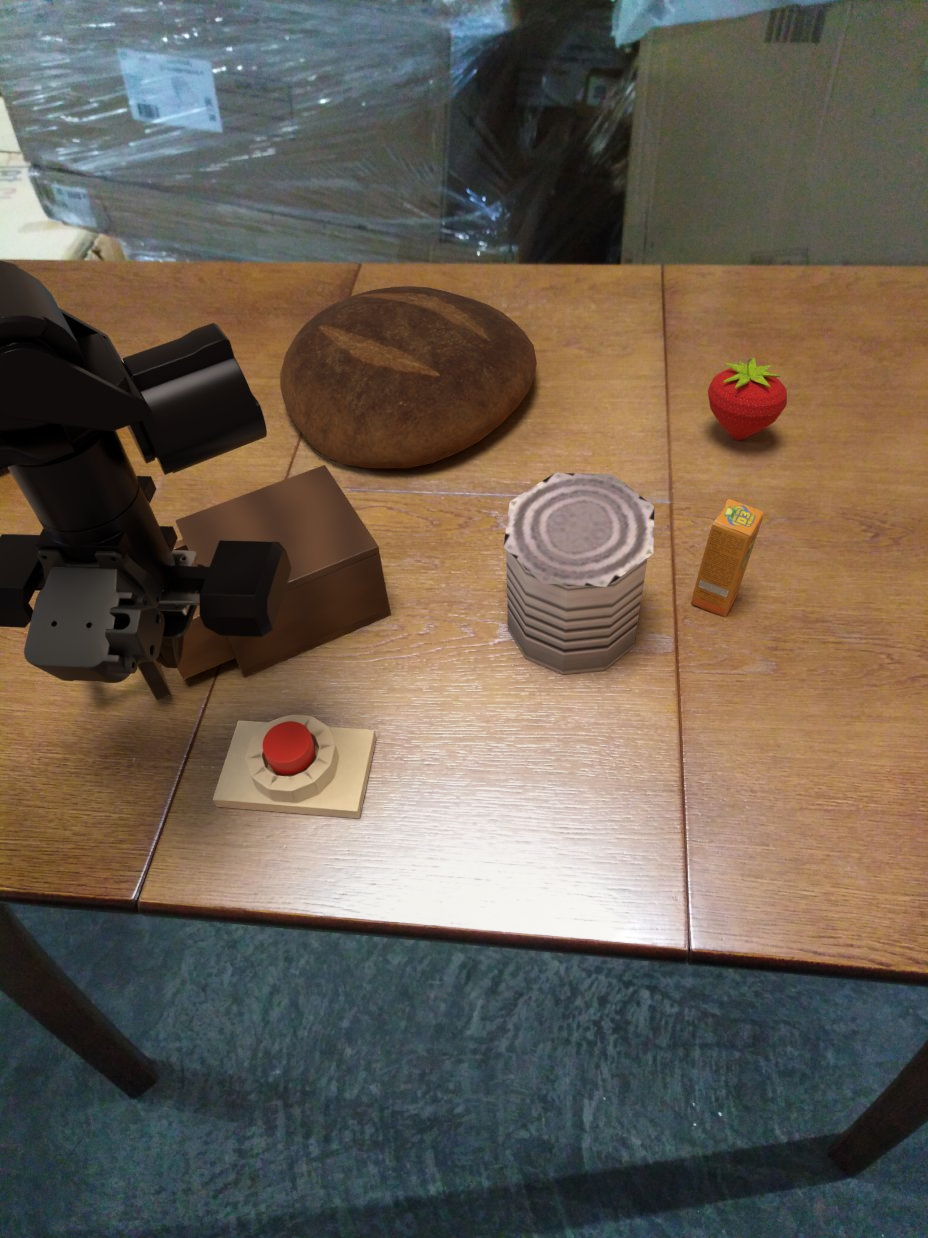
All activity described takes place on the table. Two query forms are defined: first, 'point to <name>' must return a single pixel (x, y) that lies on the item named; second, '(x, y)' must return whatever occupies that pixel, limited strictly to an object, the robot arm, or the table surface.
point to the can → (576, 570)
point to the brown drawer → (190, 652)
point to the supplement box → (726, 557)
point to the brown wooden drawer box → (300, 562)
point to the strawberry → (746, 398)
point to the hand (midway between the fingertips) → (174, 662)
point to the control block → (315, 790)
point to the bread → (404, 376)
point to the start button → (288, 747)
